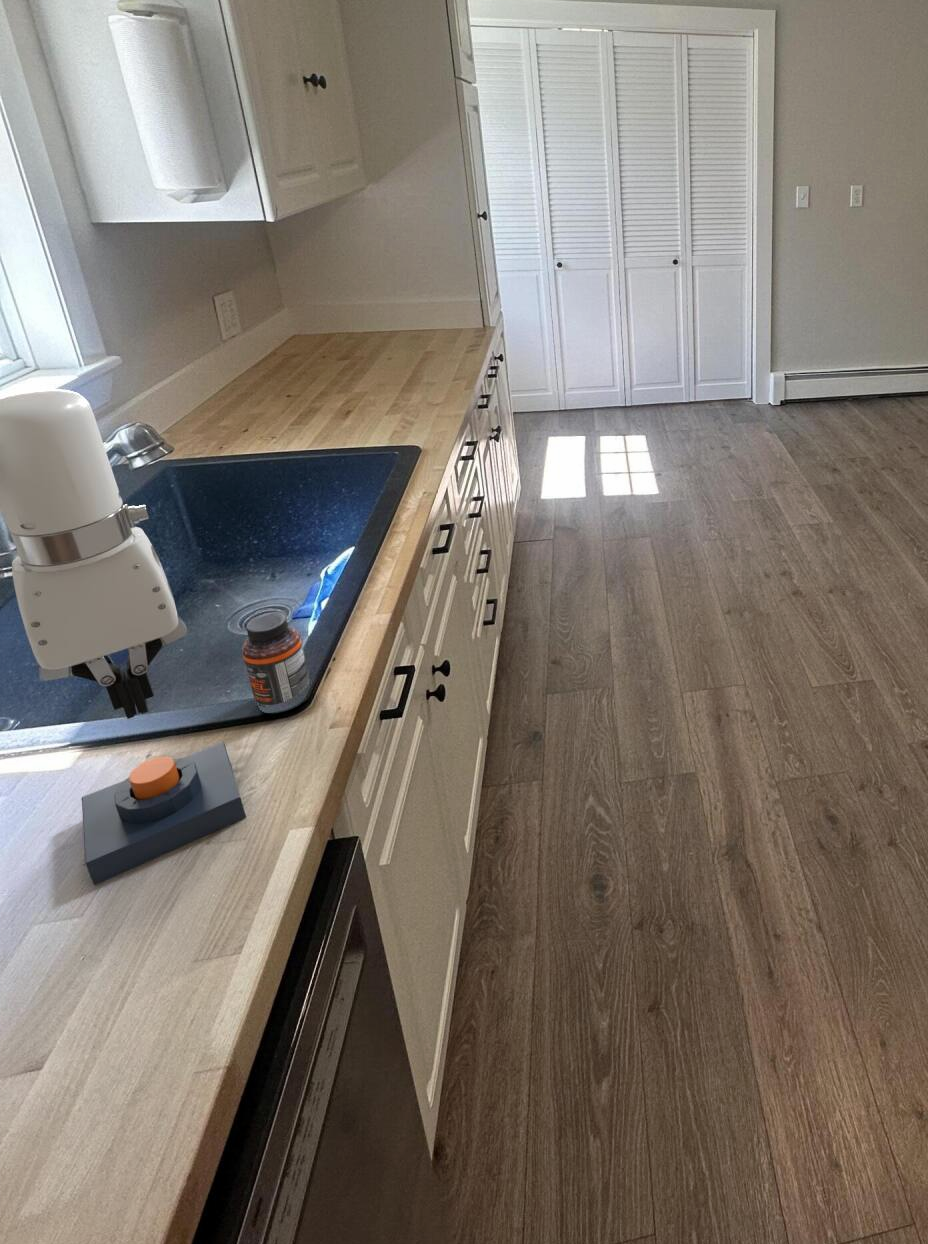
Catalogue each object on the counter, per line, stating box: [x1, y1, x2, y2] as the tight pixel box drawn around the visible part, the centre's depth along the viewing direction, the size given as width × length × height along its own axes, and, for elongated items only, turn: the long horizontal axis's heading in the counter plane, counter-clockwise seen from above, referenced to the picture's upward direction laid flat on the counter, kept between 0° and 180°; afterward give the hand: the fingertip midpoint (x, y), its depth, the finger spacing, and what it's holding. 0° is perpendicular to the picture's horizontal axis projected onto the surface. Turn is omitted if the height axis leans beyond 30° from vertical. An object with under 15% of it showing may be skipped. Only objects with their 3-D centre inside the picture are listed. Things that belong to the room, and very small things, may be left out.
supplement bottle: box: [241, 611, 311, 707], centre depth 93 cm, size 6×6×11 cm
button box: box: [81, 741, 247, 886], centre depth 78 cm, size 12×10×4 cm
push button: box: [128, 755, 179, 800], centre depth 77 cm, size 4×4×2 cm
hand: (136, 707), depth 74 cm, fingers closed
